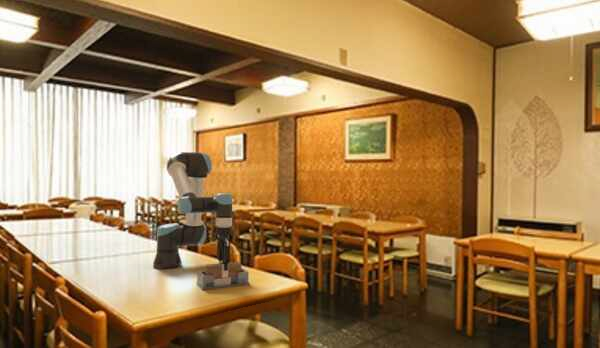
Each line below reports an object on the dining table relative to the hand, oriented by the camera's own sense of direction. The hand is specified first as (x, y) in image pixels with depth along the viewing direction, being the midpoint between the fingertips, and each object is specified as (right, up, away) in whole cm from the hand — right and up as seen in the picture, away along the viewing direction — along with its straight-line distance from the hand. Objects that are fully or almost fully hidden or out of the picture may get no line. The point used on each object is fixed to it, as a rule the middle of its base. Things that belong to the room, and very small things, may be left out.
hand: (223, 275), depth 186 cm
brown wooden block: (0, -1, 0) cm, 1 cm away
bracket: (0, -4, 0) cm, 4 cm away
